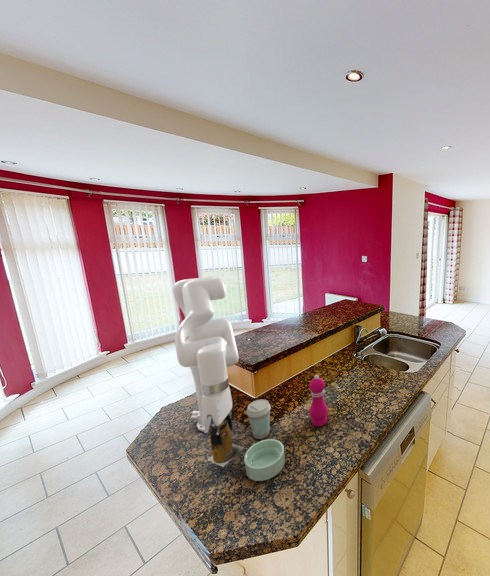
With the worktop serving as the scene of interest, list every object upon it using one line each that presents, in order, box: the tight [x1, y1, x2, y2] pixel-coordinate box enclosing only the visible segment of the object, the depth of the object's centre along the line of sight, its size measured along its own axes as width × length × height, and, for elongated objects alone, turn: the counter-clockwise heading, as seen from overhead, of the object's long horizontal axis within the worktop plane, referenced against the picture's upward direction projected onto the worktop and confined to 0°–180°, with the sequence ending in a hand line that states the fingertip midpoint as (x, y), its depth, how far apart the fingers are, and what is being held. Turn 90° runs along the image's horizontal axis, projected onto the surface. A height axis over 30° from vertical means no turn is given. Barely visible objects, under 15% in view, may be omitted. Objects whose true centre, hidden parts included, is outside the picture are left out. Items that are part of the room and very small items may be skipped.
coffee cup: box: [246, 399, 272, 440], centre depth 105 cm, size 8×8×12 cm
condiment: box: [207, 419, 244, 468], centre depth 90 cm, size 7×8×12 cm
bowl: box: [243, 438, 286, 482], centre depth 91 cm, size 12×12×5 cm
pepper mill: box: [308, 374, 329, 427], centre depth 110 cm, size 7×7×20 cm
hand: (222, 436), depth 89 cm, fingers closed on condiment, 6 cm apart
